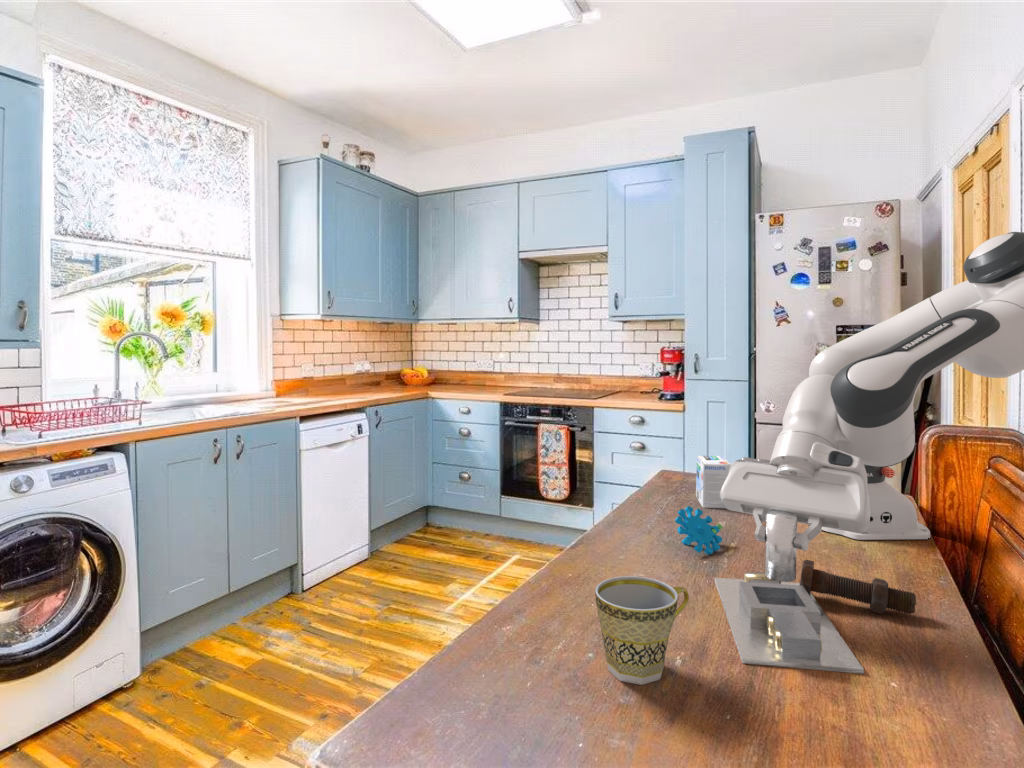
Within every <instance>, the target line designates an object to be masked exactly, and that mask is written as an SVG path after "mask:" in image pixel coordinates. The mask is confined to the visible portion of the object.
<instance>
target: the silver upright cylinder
mask: <svg viewBox="0 0 1024 768" xmlns="http://www.w3.org/2000/svg"><path fill="white" fill-rule="evenodd" d="M765 525H766V526H765V527H766V542H765V572H764V573H765V575H766V576H767V577H768V578H770V579H772V580H775V581H781V582H791V583H792V582H794V581H796V580H797V550H798V549H796V548H795V546H794V539H795V538H796V537H795V535H796V532H797V533H798V522H797V515H795V514H793V513H790V512H785V511H770V512H767V515H766V521H765Z"/></svg>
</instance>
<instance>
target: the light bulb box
mask: <svg viewBox="0 0 1024 768" xmlns="http://www.w3.org/2000/svg"><path fill="white" fill-rule="evenodd" d="M731 464H732V463H731V462H729V460H728V459H726V458H725V457H724V456H723V455H696V479H695V480H696V484H695V485H696V486H695V488H696V489H695V496H696V499H697V500H698V502H699V504H700V505H701V507H702V509H703V508H704V509H705V508H706V509H708V508H709V509H727V508H726V507H725V505H724V504H723V502H722V500H721V497H720V491H721V489H722V486H723V484H724V482H725V480H726V478H727V476H728V474H729V469H730V466H731Z"/></svg>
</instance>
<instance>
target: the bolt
mask: <svg viewBox="0 0 1024 768" xmlns="http://www.w3.org/2000/svg"><path fill="white" fill-rule="evenodd" d="M814 565H815V561H814V560H810V559H805V560H803V561H802V565H801V574H800V578H799V579H800V580H799V581H800V582H799V583H800V585H801V586H803V587H804V588H805V590H806V591H807V593H808V594H809V596H810V592H811V593H812V592H813V593H817V594H822V595H823V594H825V595H828V596H834V597H835V596H836V597H839V598H843V599H846V600H851V601H854V602H855V601H856V602H859V603H864V604H867V605H869V609H870V610H871V611H872V612H873V613H876V614H880V615H882V614H884V613H885V612H886V610H887V609H888V610H891V611H892V610H893V611H896V612H899V613H900V612H901V613H904V614H909V615H911V614H914V613H916V612H915V611H916V605H917V597H916V594H915V593H914V592H912V591H906V590H903V589H902V590H901V589H898V588H893V587H890V586H889V583H888V581H887V580H885V579H884V578H883V579H881V578H878V577H875V578H873V579H872V581H871V582H868V581H864V580H863V581H862V580H859V579H856V578H855V579H854V578H851V577H847V576H842V575H839V574H834V573H833V574H832V573H829V572H826V570H825V571H824V570H820V569H817V568H815V567H814Z"/></svg>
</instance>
